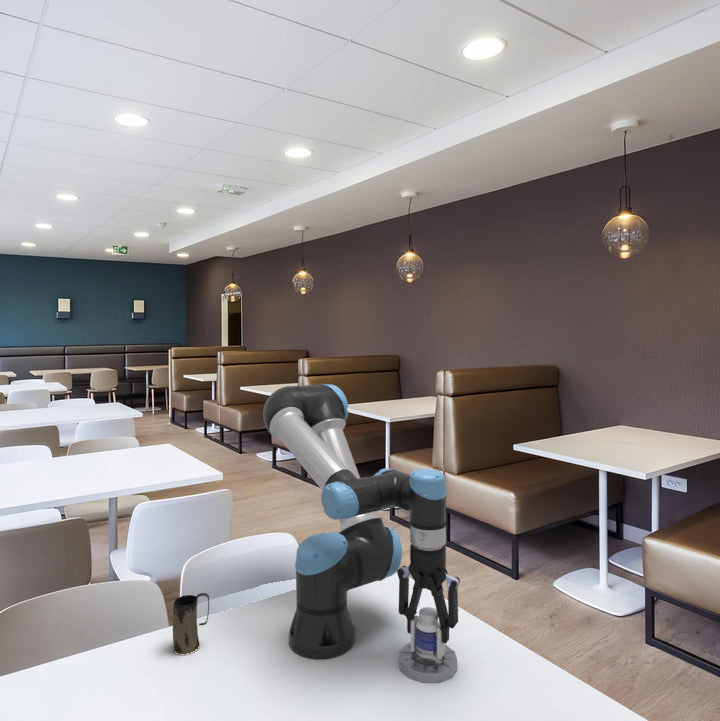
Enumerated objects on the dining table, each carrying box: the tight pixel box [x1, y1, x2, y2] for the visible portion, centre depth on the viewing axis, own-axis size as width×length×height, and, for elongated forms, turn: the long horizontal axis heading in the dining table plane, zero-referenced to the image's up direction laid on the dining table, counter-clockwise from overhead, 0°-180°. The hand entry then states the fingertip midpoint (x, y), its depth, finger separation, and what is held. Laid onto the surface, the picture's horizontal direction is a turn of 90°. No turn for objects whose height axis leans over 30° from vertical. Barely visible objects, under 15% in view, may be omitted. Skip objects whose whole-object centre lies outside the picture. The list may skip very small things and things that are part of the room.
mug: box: [172, 592, 210, 654], centre depth 123 cm, size 8×6×12 cm
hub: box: [398, 642, 458, 684], centre depth 117 cm, size 12×12×3 cm
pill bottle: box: [416, 606, 440, 660], centre depth 117 cm, size 5×5×9 cm
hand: (427, 651), depth 116 cm, fingers closed on pill bottle, 5 cm apart
